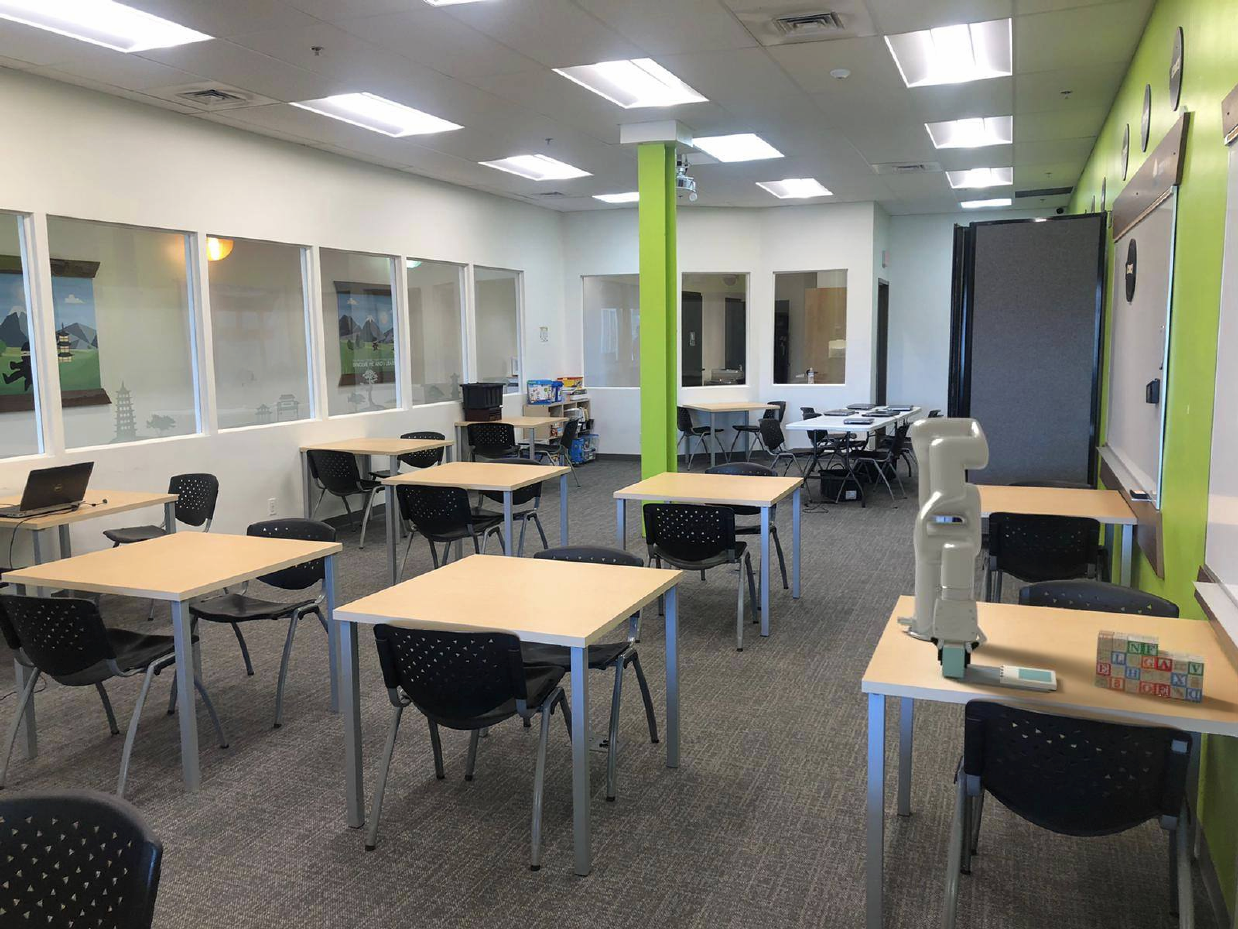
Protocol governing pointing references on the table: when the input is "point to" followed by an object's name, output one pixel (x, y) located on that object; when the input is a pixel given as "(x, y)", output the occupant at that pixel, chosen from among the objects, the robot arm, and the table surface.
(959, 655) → the teal rectangular block
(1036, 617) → the table surface
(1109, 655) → the stack of blocks
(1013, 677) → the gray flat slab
